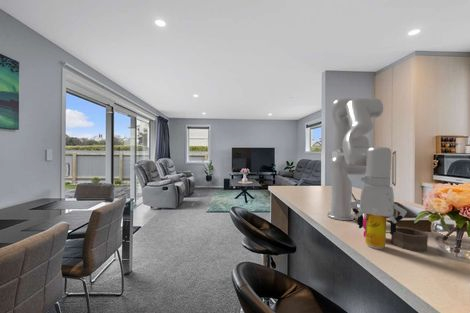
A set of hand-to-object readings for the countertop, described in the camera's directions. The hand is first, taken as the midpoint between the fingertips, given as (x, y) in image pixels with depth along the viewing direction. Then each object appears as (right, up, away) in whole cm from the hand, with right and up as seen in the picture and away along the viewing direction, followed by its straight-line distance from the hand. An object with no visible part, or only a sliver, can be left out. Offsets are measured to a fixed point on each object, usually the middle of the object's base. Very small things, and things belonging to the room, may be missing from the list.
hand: (375, 230), depth 85 cm
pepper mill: (+4, -6, +10) cm, 12 cm away
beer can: (0, -6, 0) cm, 6 cm away
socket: (+13, -6, +2) cm, 15 cm away
